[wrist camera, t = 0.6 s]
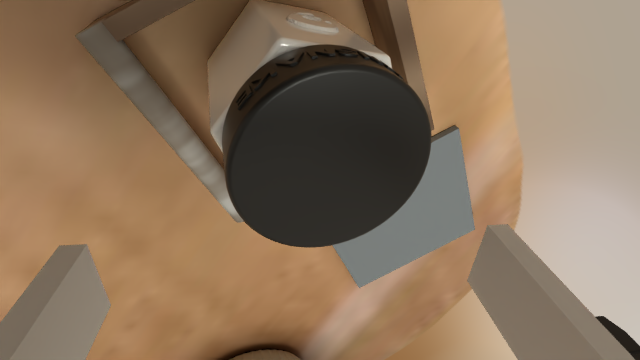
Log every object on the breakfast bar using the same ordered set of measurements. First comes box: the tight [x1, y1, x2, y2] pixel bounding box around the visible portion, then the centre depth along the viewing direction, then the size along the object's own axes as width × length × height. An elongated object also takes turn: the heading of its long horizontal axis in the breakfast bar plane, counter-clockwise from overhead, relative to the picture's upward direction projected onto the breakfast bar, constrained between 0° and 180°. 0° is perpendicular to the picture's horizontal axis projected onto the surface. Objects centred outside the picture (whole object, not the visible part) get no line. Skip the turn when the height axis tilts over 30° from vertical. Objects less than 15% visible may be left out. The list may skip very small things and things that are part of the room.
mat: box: [333, 125, 475, 288], centre depth 33 cm, size 14×14×1 cm
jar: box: [207, 0, 431, 247], centre depth 18 cm, size 9×8×12 cm
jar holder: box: [75, 0, 434, 222], centre depth 21 cm, size 14×15×4 cm
